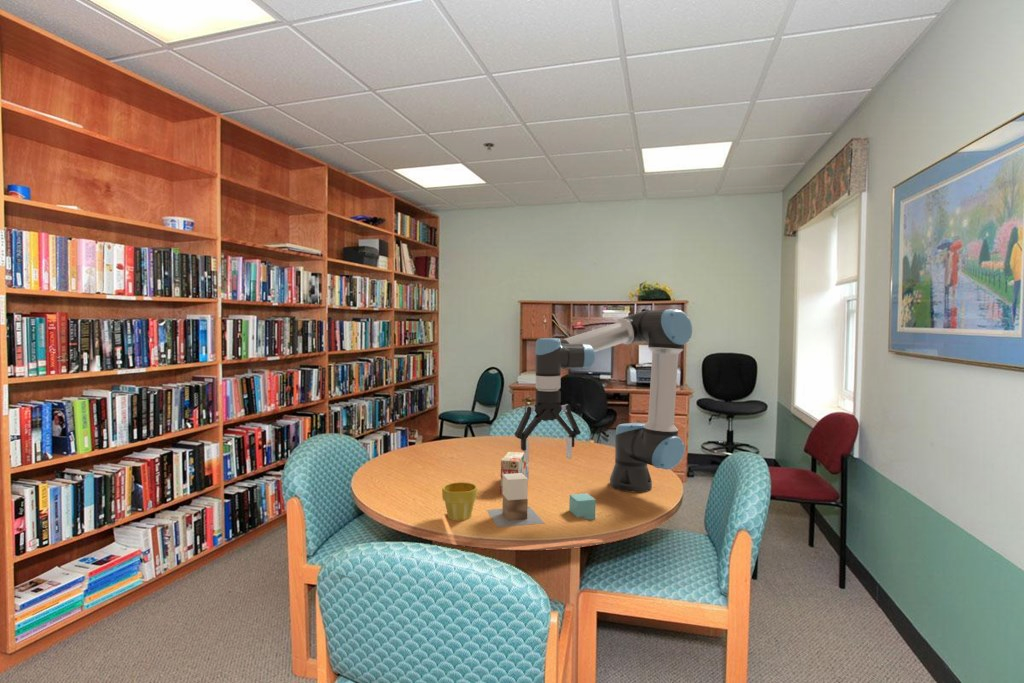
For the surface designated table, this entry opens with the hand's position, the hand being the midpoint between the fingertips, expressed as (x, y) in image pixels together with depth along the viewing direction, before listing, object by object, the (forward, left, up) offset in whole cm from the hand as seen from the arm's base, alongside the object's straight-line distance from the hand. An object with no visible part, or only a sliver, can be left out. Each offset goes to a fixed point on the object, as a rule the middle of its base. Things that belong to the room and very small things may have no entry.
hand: (547, 459), depth 153 cm
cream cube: (+10, -1, -11) cm, 15 cm away
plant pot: (+26, -5, -18) cm, 32 cm away
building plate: (+10, -1, -18) cm, 20 cm away
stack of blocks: (+1, -32, -18) cm, 37 cm away
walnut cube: (+10, -1, -17) cm, 19 cm away
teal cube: (-11, +1, -18) cm, 21 cm away
